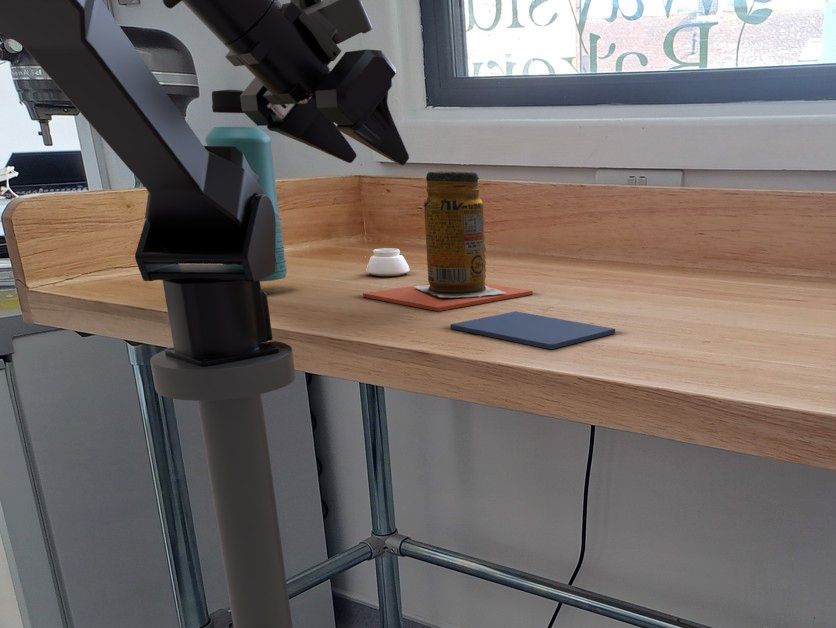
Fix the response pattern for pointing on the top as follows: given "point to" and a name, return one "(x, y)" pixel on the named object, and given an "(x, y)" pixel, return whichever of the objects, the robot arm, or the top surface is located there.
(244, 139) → the beverage bottle
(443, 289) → the condiment
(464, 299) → the terracotta mat
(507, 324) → the slate mat
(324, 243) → the top surface
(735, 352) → the top surface
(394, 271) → the white jar
